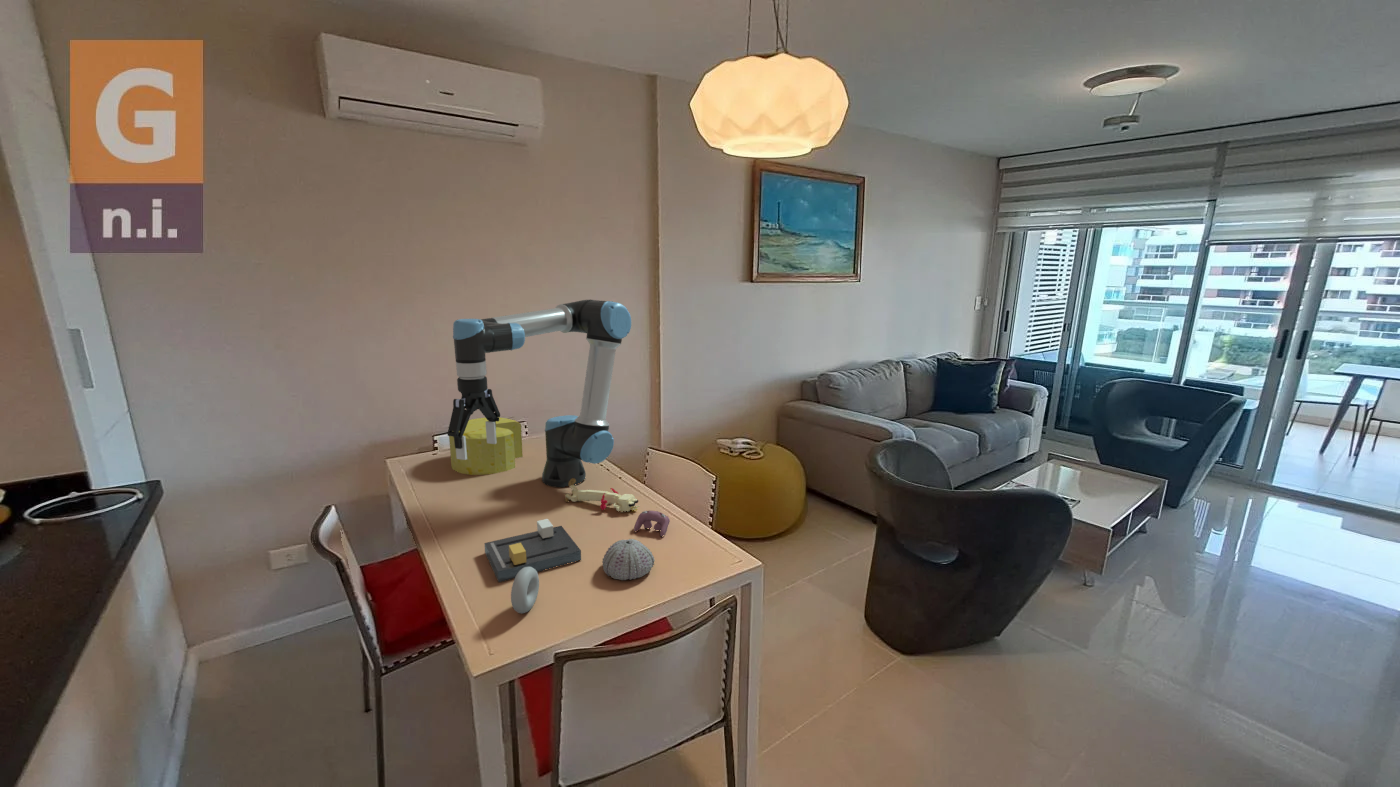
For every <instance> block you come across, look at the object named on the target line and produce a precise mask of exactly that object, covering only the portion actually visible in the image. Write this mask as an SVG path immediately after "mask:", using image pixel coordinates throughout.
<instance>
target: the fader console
mask: <svg viewBox="0 0 1400 787" xmlns="http://www.w3.org/2000/svg"><path fill="white" fill-rule="evenodd" d="M553 535H554V536H551V537H547V538H542V537H541V535H540V534H539V533H538V531H537V530H536V531H532V532H527V533H524V534H523V533H522V534H519V535H514V536H510V537H506V538H501V539H497V540H492V541H488V542H484V554H485V556H486V558H487V560H489V561H488V562H489V565H490V567H491V569H492V571H493V573H494V575H495V578H496V579H497V582H498V583H502V581H503V582H505V580H506V581H509V579H510V580H514V579H515V577H516V575H517V573H518V572H519V571H520V570H521V569H522V568H524V567H532V568H534V569H535V570H536V571H537V573H539V571H540V572H544V571H546V570H545V569H548V570H550V569H549V568H552V569H554V568H553V567H556V566H559V567H561V566H560V565H563V566H565V565H564V564H567V563H571V562H574V563H576V562H575V561H578V560H581V561H582V550H581V549H580V547H579V546H578V545H577V544H576V542H575V541H574V540H573V538H572V537H571V535H569V533H568V532H567V531H566V529H565V528H564V527H563V526H562V525H559V526H553ZM517 543H521V544H522V546H523V547H524V549H525V551H526V562H525V563H521V564H517V565H514V564H513V562H512V560H511V558H510V556H509V545H513V544H517ZM578 562H579V561H578ZM571 564H572V563H571ZM567 565H568V564H567ZM556 568H557V567H556ZM543 570H544V571H543ZM513 578H514V579H513Z"/></svg>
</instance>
